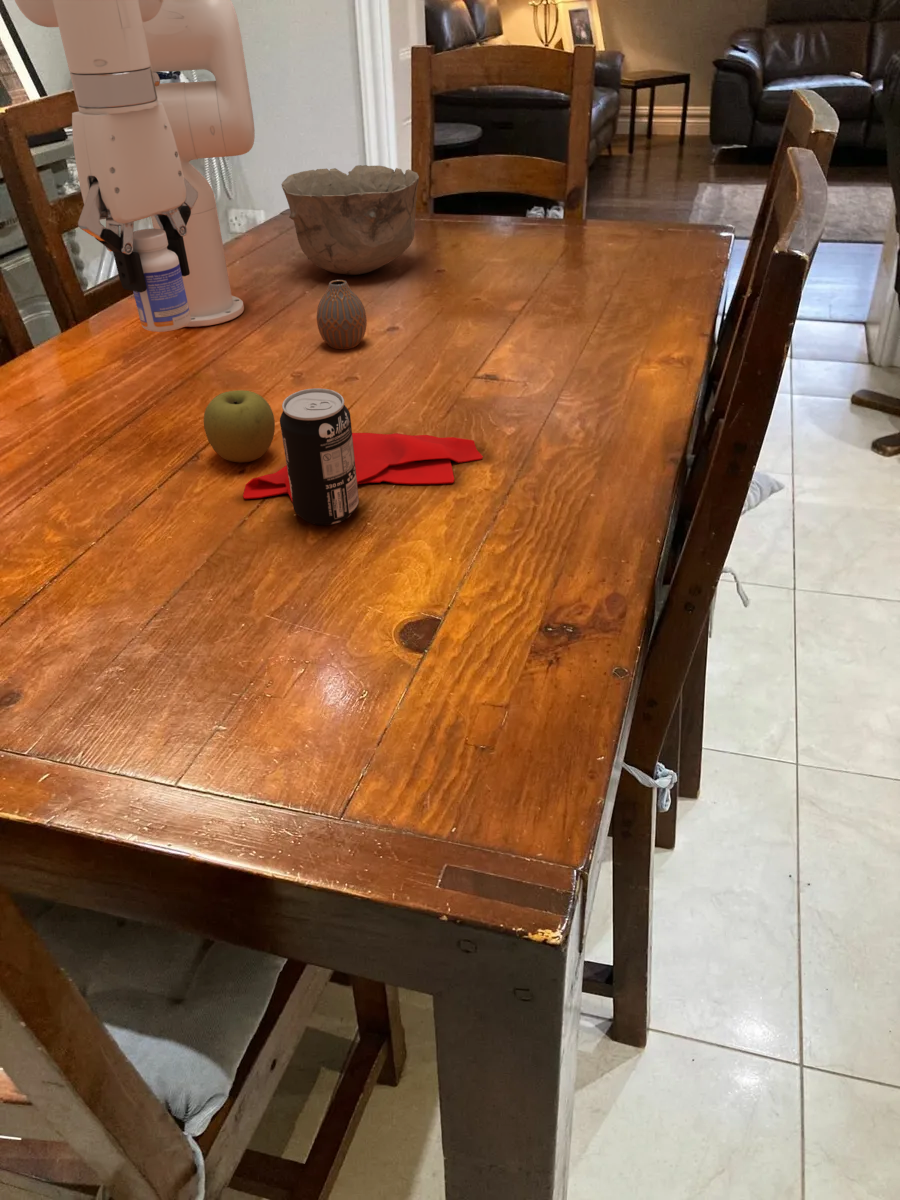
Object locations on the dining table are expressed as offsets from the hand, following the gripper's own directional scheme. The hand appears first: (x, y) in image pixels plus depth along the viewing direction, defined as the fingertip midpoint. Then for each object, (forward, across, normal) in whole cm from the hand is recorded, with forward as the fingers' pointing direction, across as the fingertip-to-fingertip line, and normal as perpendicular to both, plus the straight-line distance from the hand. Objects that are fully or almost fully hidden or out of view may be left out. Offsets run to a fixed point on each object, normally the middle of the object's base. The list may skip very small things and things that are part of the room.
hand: (156, 280), depth 100 cm
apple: (+18, +1, +10) cm, 21 cm away
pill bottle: (+5, 0, 0) cm, 5 cm away
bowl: (+18, -61, -22) cm, 67 cm away
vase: (+18, -32, -2) cm, 36 cm away
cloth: (+18, -4, +23) cm, 30 cm away
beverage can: (+18, +6, +26) cm, 32 cm away
